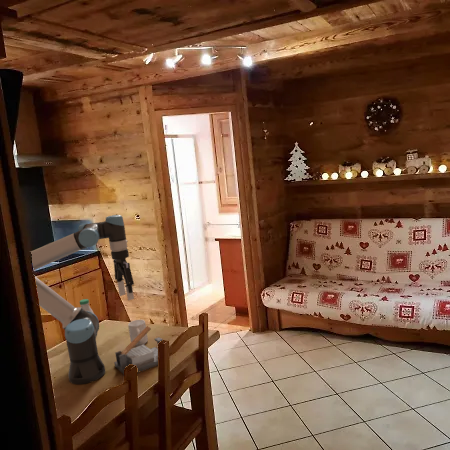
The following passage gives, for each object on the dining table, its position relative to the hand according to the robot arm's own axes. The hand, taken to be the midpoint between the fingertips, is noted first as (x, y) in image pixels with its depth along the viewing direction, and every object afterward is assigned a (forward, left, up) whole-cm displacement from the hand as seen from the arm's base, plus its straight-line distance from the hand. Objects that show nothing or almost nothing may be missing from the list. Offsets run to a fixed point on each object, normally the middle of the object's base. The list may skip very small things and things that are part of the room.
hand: (126, 297), depth 204 cm
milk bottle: (-9, +40, -28) cm, 49 cm away
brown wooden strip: (-4, -12, -17) cm, 21 cm away
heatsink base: (-2, -12, -28) cm, 30 cm away
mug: (+6, +9, -28) cm, 30 cm away
